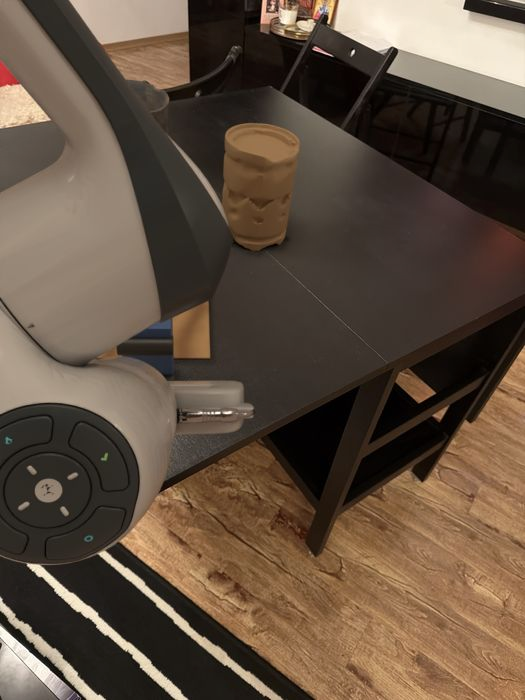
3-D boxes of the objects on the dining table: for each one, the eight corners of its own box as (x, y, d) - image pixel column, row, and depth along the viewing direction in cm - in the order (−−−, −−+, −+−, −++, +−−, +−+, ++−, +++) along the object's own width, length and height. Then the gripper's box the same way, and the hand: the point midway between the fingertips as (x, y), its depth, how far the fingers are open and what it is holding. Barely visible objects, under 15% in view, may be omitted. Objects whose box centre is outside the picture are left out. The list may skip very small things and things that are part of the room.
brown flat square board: (94, 359, 67) (94, 357, 66) (108, 285, 77) (108, 284, 77) (210, 359, 69) (210, 357, 69) (207, 287, 80) (208, 286, 79)
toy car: (125, 401, 62) (114, 337, 54) (129, 364, 67) (120, 299, 58) (174, 400, 63) (172, 337, 54) (176, 364, 67) (173, 300, 59)
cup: (72, 177, 99) (57, 100, 88) (110, 143, 111) (101, 72, 100) (153, 195, 97) (148, 120, 87) (183, 159, 110) (182, 89, 99)
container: (298, 233, 94) (315, 142, 81) (256, 259, 86) (267, 163, 73) (250, 207, 98) (258, 117, 85) (206, 229, 91) (209, 134, 78)
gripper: (258, 373, 36) (240, 362, 49) (-37, 375, 33) (31, 362, 46) (258, 457, 36) (240, 423, 50) (-36, 466, 33) (32, 427, 47)
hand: (137, 393), depth 48 cm, fingers closed
